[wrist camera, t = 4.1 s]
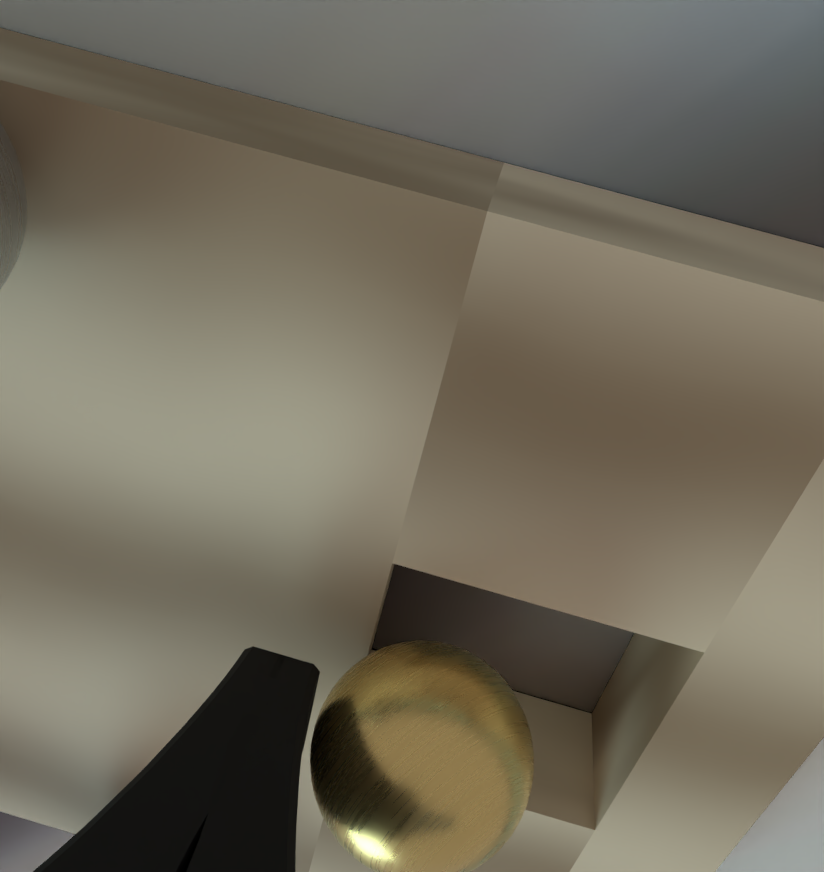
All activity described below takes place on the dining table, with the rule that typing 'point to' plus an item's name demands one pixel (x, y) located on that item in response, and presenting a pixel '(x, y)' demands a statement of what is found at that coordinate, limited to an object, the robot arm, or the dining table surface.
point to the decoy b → (10, 207)
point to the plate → (395, 450)
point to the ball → (422, 759)
